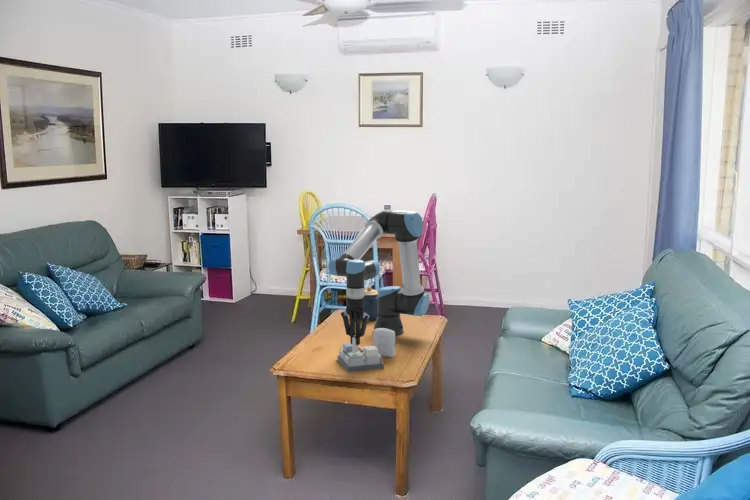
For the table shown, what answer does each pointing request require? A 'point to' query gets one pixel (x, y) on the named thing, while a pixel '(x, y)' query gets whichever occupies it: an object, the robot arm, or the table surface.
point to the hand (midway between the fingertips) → (355, 351)
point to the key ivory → (370, 351)
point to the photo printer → (384, 341)
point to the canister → (370, 303)
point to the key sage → (354, 355)
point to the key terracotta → (361, 348)
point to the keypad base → (360, 362)
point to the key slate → (347, 348)
